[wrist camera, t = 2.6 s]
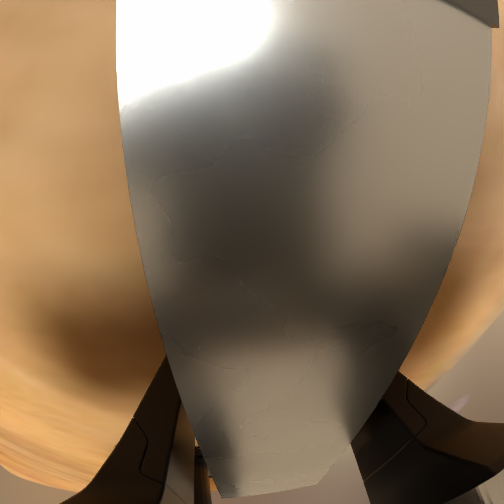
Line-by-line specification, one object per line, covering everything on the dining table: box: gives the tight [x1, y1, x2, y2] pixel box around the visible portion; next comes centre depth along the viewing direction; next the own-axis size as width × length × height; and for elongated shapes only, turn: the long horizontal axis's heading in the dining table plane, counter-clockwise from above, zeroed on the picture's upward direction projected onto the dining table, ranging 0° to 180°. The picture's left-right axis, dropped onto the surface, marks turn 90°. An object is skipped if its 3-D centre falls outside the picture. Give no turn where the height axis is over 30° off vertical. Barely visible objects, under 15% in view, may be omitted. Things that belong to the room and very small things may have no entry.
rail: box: [116, 0, 499, 498], centre depth 7 cm, size 16×4×5 cm, turn 0°
